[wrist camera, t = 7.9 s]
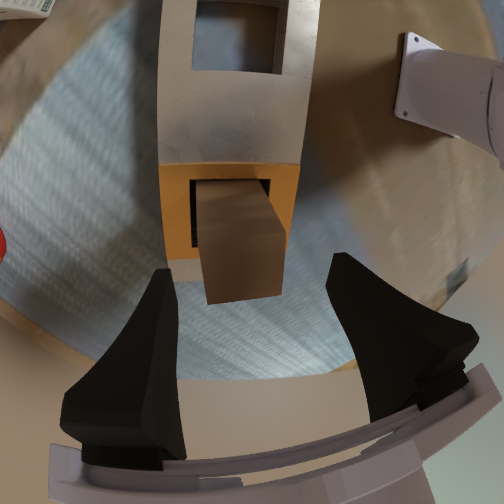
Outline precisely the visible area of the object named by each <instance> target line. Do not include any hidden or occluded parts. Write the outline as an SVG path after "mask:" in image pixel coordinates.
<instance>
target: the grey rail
mask: <svg viewBox="0 0 504 504" xmlns="http://www.w3.org/2000/svg"><path fill="white" fill-rule="evenodd" d="M198 2H230V3H244V4H254V5H263V6H270V7H277V8H278V12H277V22H276V32H275V42H274V52H273V62H272V72H271V74H267V73H256V72H241V71H210V70H201V71H192V65H193V49H194V36H195V24H196V14H197V4H198ZM319 7H320V0H163V6H162V15H161V26H160V39H159V55H158V82H157V133H158V161H159V165H158V169H159V185H160V199H161V210H162V221H163V231H164V240H165V249H166V257H167V261H168V268H171V273H172V278H173V282H187V281H203V274H202V268H201V262H200V255H199V249H198V240H197V228H192V227H191V197H190V179H261V181H260V184H261V186H262V187H263V189H264V191H265V193H266V195H267V197H268V199H269V201H270V202H271V204H272V206H273V208H274V210H275V212H276V214H277V216H278V218H279V220H280V221H281V223H282V225H283V227H284V229H285V231H286V246H285V254H286V249H287V244H288V238H289V233H290V227H291V221H292V216H293V210H294V204H295V198H296V192H297V186H298V180H299V174H300V167H301V165H300V160H301V153H302V147H303V140H304V133H305V126H306V119H307V112H308V104H309V97H310V89H311V81H312V73H313V64H314V56H315V47H316V38H317V28H318V18H319Z"/></svg>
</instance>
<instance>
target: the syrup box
mask: <svg viewBox="0 0 504 504" xmlns="http://www.w3.org/2000/svg"><path fill="white" fill-rule="evenodd" d="M55 1H56V0H0V20H9V19H27V18H47V17H49V15H50V13H51V10H52V7H53V5H54V3H55Z"/></svg>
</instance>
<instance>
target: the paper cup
mask: <svg viewBox="0 0 504 504" xmlns="http://www.w3.org/2000/svg"><path fill="white" fill-rule="evenodd" d="M5 253H6V240H5V237H4V234H3V232H2V230H1V228H0V263H1V261H2V259H3V257H4V255H5Z"/></svg>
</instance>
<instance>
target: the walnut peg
mask: <svg viewBox="0 0 504 504" xmlns="http://www.w3.org/2000/svg"><path fill="white" fill-rule="evenodd" d="M196 211H197V240H198V249H199V255H200V262H201V268H202V274H203V281H204V286H205V292H206V298H207V304H208V305H211V304H219V303H227V302H235V301H242V300H250V299H257V298H264V297H271V296H277V295H281V294H282V283H283V271H284V259H285V246H286V231H285V229H284V227H283V225H282V223H281V221H280V220H279V218H278V216H277V214H276V212H275V210H274V208H273V206H272V204H271V202H270V201H269V199H268V197H267V195H266V193H265V191H264V189H263V187H262V186H261V184H260V182H259V180H258V179H196Z"/></svg>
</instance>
